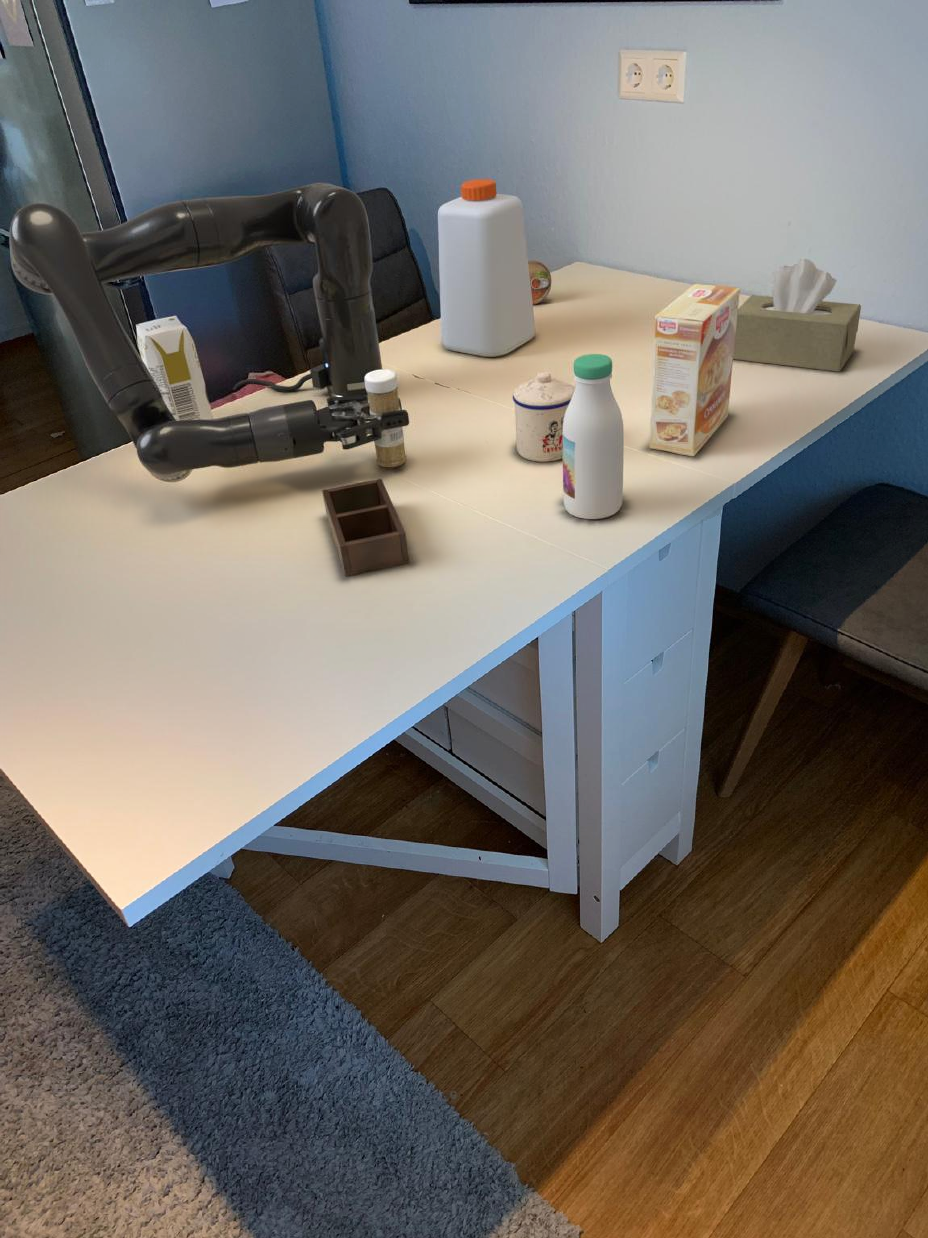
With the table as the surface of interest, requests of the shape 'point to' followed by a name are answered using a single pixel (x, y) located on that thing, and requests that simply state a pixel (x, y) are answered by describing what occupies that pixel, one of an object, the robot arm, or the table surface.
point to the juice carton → (174, 367)
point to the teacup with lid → (541, 417)
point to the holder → (365, 527)
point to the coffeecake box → (693, 367)
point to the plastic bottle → (484, 272)
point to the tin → (539, 281)
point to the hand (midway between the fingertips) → (403, 410)
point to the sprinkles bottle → (382, 401)
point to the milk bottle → (593, 442)
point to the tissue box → (797, 322)
